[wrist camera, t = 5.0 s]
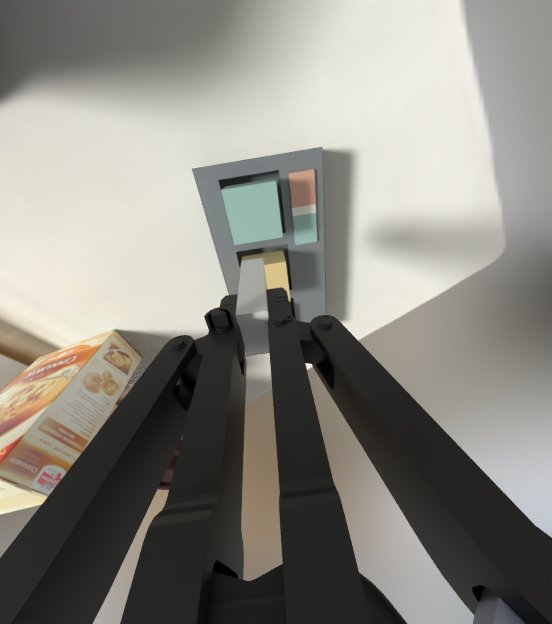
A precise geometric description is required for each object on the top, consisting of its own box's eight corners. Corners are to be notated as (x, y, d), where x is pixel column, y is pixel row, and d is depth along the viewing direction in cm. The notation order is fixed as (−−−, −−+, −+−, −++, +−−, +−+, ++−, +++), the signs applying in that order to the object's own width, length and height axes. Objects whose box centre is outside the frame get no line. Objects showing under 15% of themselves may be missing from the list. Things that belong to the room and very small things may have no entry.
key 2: (226, 186, 22) (220, 190, 19) (273, 178, 22) (276, 180, 19) (237, 235, 24) (234, 245, 21) (279, 228, 24) (282, 237, 21)
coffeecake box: (114, 327, 35) (-13, 474, 18) (144, 358, 38) (61, 502, 22) (36, 356, 37) (-140, 510, 20) (72, 382, 41) (-52, 530, 24)
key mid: (242, 256, 26) (240, 268, 23) (282, 250, 25) (285, 261, 22) (250, 292, 28) (249, 307, 25) (287, 286, 28) (290, 301, 25)
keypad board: (201, 167, 24) (191, 168, 21) (313, 148, 24) (323, 146, 20) (245, 330, 36) (244, 348, 33) (319, 319, 36) (326, 336, 33)
